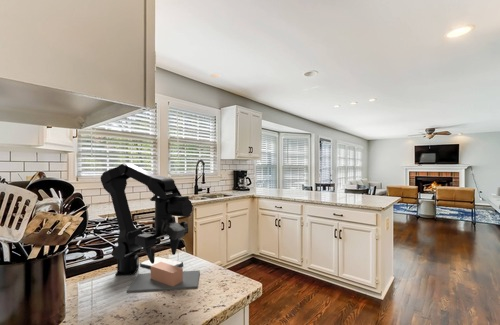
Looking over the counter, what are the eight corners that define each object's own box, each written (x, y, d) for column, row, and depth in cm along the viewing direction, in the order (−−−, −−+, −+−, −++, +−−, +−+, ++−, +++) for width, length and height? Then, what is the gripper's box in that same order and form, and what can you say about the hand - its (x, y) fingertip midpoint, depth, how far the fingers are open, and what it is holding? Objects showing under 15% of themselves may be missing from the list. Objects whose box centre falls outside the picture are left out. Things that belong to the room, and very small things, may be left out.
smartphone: (138, 267, 99) (168, 274, 93) (138, 263, 99) (168, 270, 93) (155, 259, 107) (184, 265, 100) (155, 256, 107) (184, 261, 101)
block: (150, 266, 87) (172, 273, 82) (160, 261, 91) (182, 268, 86) (150, 278, 87) (172, 286, 82) (160, 273, 91) (182, 281, 86)
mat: (126, 292, 79) (126, 290, 79) (138, 275, 91) (138, 273, 91) (197, 288, 82) (197, 286, 82) (199, 272, 94) (199, 270, 94)
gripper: (157, 222, 75) (157, 274, 75) (199, 212, 91) (199, 254, 91) (134, 218, 81) (133, 266, 81) (177, 209, 97) (177, 249, 97)
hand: (163, 258), depth 87 cm, fingers open, 9 cm apart
